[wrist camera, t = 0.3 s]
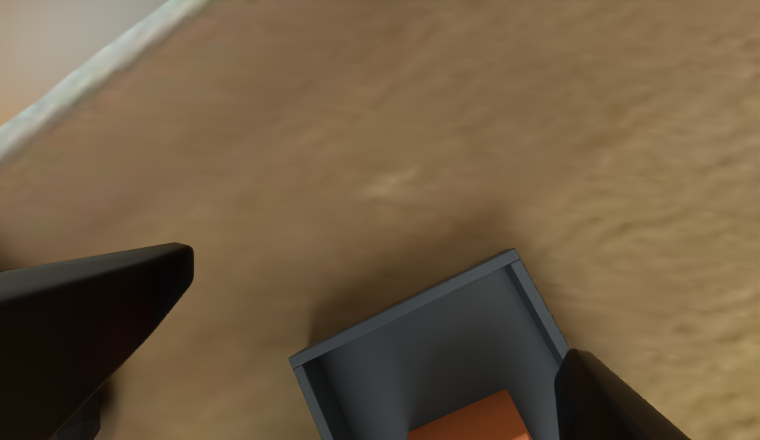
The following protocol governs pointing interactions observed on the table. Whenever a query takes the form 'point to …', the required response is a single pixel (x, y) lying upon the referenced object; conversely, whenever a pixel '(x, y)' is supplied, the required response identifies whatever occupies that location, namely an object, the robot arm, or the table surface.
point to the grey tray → (438, 357)
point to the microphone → (82, 421)
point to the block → (477, 422)
